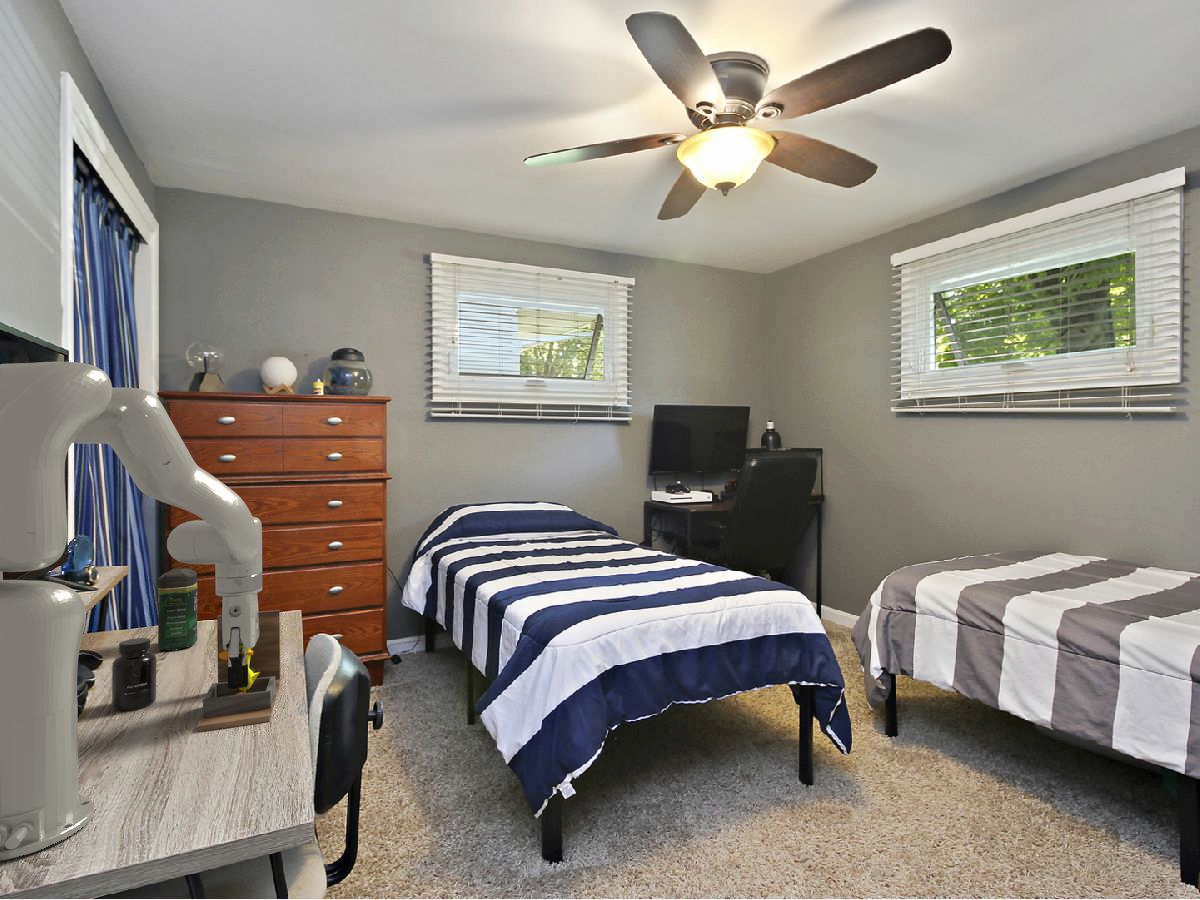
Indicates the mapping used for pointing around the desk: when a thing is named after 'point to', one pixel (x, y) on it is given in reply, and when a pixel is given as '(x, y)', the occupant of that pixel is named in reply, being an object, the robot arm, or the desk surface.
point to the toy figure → (251, 675)
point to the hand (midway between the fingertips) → (240, 682)
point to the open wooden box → (260, 698)
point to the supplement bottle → (134, 675)
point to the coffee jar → (177, 609)
